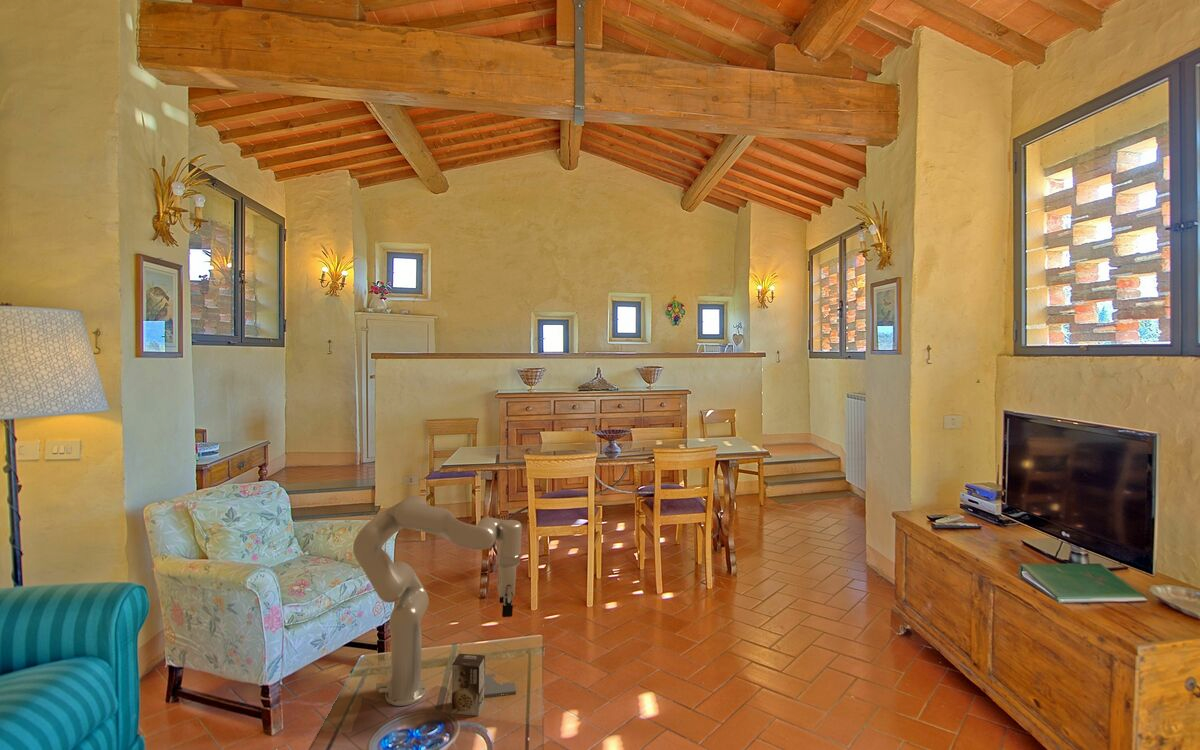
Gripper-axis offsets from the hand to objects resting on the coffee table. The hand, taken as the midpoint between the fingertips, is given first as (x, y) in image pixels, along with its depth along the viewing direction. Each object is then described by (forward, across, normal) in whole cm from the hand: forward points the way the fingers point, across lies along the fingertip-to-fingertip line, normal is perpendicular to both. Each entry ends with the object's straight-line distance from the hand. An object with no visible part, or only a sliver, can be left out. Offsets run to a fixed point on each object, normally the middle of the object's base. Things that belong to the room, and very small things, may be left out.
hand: (505, 609), depth 180 cm
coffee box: (+30, +5, -11) cm, 32 cm away
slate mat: (+29, -5, 0) cm, 29 cm away
